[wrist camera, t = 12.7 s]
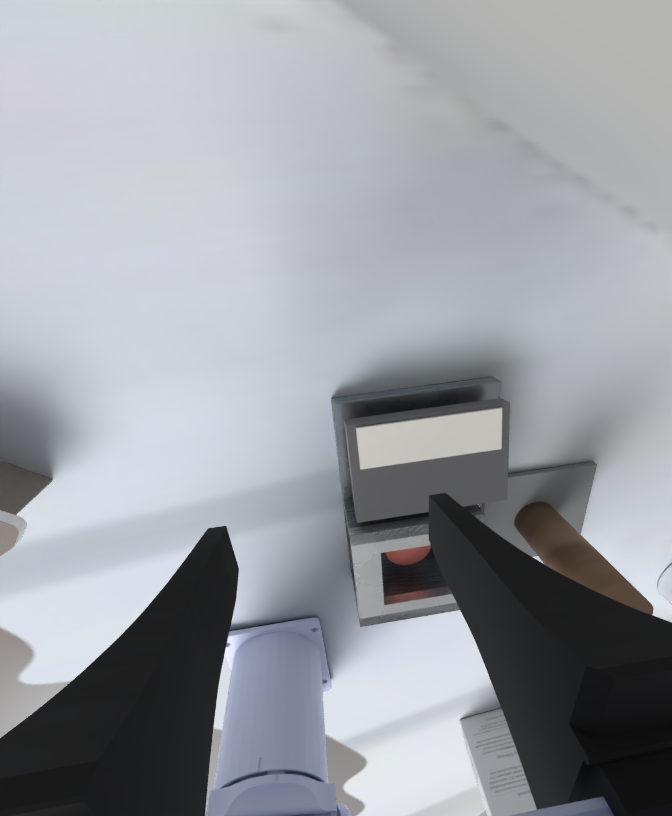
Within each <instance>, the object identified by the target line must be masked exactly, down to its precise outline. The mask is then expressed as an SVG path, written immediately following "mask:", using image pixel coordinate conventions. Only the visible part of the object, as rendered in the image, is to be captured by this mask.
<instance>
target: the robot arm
mask: <svg viewBox="0 0 672 816" xmlns="http://www.w3.org/2000/svg"><path fill="white" fill-rule="evenodd" d="M429 541H430V544H431V547H432V550H433V553H434V556H435V558H436V561H437V564H438V566H439V568H440V570H441V572H442V574H443V576H444V578H445V580H446V582H447V584H448V587H449V589H450V590H451V592H452V594H453V596H454V598H455V600H456V602H457V604H458V606H459V608H460V610H461V612H462V614H463V616H464V618H465V620H466V622H467V624H468V626H469V628H470V630H471V633H472V635H473V637H474V639H475V641H476V644H477V646H478V649H479V651H480V654H481V656H482V659H483V661H484V664H485V666H486V669H487V671H488V674H489V677H490V679H491V682H492V685H493V687H494V690H495V692H496V695H497V698H498V700H499V703H500V706H501V708H502V711H503V714H504V716H505V719H506V722H507V725H508V728H509V730H510V733H511V736H512V739H513V741H514V744H515V747H516V750H517V753H518V755H519V758H520V761H521V764H522V767H523V770H524V773H525V776H526V779H527V782H528V785H529V788H530V791H531V794H532V796H533V799H534V802H535V805H536V809H537V810H534V811H529V812H524V813H519V814H514V815H509V816H672V623H671V622H668V621H666V620H663V619H660V618H658V617H655V616H653V615H650V614H647V613H645V612H642V611H639V610H637V609H634V608H632V607H630V606H627V605H625V604H623V603H620V602H618V601H616V600H614V599H611V598H609V597H607V596H604V595H602V594H600V593H598V592H596V591H594V590H592V589H590V588H587V587H585V586H584V585H582V584H580V583H578V582H576V581H574V580H572V579H570V578H568V577H566V576H564V575H562V574H560V573H558V572H557V571H555V570H553V569H551V568H549V567H548V566H546V565H544V564H543V563H541V562H539V561H538V560H536V559H534V558H533V557H531V556H529V555H528V554H526V553H525V552H523V551H521V550H520V549H518V548H517V547H516V546H514V545H513V544H511V543H510V542H508V541H507V540H505V539H504V538H502V537H501V536H500V535H498V534H497V533H496V532H494V531H493V530H492V529H490V528H489V527H488V526H486V525H485V524H484V523H482V522H481V521H480V520H479V519H477V518H476V517H475V516H473V515H472V514H471V513H470V512H469V511H467V510H466V509H465V508H464V507H462V506H461V505H460V504H459V503H458V502H456V501H455V500H454V499H453V498H451V497H450V496H449V495H448V494H446V493H441V494H435V495H429ZM238 571H239V568H238V565H237V561H236V558H235V555H234V551H233V548H232V544H231V541H230V538H229V534H228V531H227V527H226V526H222V527H215V528H208V530H207V531H206V532H205V533H204V535H203V536H202V537H201V539H200V540H199V542H198V543H197V544H196V546H195V547H194V548H193V550H192V551H191V553H190V554H189V555H188V557H187V558H186V559H185V561H184V562H183V563H182V565H181V566H180V567H179V569H178V570H177V571H176V573H175V574H174V575H173V576H172V578H171V579H170V580H169V582H168V583H167V584H166V585H165V587H164V588H163V589H162V590H161V591H160V593H159V594H158V595H157V596H156V597H155V599H154V600H153V601H152V602H151V603H150V605H149V606H148V607H147V608H146V609H145V610H144V611H143V613H142V614H141V615H140V616H139V617H138V618H137V619H136V620H135V621H134V622H133V624H132V625H131V626H130V627H129V628H128V629H127V630H126V631H125V632H124V633H123V634H122V635H121V636H120V637H119V638H118V639H117V640H116V641H115V642H114V643H113V644H112V645H111V646H110V647H109V648H108V649H106V650H105V651H104V652H103V653H102V654H101V655H100V656H99V657H98V658H97V659H96V660H95V661H94V662H93V663H92V664H91V665H89V666H88V667H87V668H86V669H85V670H84V671H83V672H82V673H81V674H80V675H78V676H77V677H76V678H75V679H74V680H73V681H71V682H70V683H69V684H68V685H67V686H66V687H65V688H63V689H62V690H61V691H60V692H59V693H57V694H56V695H55V696H54V697H53V698H51V699H50V700H49V701H48V702H47V703H45V704H44V705H43V706H42V707H40V708H39V709H38V710H37V711H35V712H34V713H33V714H32V715H30V716H29V717H28V718H26V719H25V720H24V721H23V722H21V723H20V724H18V725H17V726H16V727H15V728H13V729H12V730H11V731H9V732H8V733H7V734H5V735H4V736H3V737H1V738H0V816H205V807H206V796H207V785H208V784H207V783H208V774H209V763H210V762H209V761H210V753H211V743H212V734H213V725H214V716H215V708H216V700H217V692H218V685H219V679H220V673H221V668H222V663H223V659H224V656H225V659H226V661H227V664H228V667H229V669H230V672H231V677H230V684H229V690H228V697H227V703H226V709H225V716H224V722H223V729H222V736H221V742H220V748H219V755H218V761H217V768H216V774H215V780H214V787H213V790H211V791H210V793H209V800H208V806H207V812H206V816H352V815H351V814H350V812H349V810H348V808H347V806H346V805H345V804H336V791H335V784H334V783H328V774H327V758H326V741H325V724H324V707H323V692H324V691H328V690H330V689H331V680H330V675H329V669H328V664H327V658H326V653H325V647H324V642H323V636H322V631H321V625H320V620H319V619H318V618H315V617H313V618H307V619H301V620H295V621H289V622H283V623H277V624H271V625H265V626H259V627H253V628H247V629H241V630H235V631H229V630H230V626H231V621H232V616H233V611H234V606H235V601H236V594H237V583H238Z"/></svg>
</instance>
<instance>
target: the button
mask: <svg viewBox="0 0 672 816" xmlns="http://www.w3.org/2000/svg"><path fill="white" fill-rule="evenodd" d="M430 548H431V545H428V546H422V547H416V548H410V549H403V550H397V551H391V552H385V553H386V556H387V558H388V559H389V560H390V561H391V562H393V563H395V564H398V565H410V564H414V563H417V562H419V561H420V560H422V559H423V558H424V557H425V556H426V555H427V554H428V553H429V551H430Z"/></svg>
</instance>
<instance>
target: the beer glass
mask: <svg viewBox="0 0 672 816" xmlns="http://www.w3.org/2000/svg"><path fill="white" fill-rule="evenodd" d="M658 592H659V594H660V595H661V596H662V597H663V598H664V599H665V600H666V601H668V602H669V603H670V604H672V564H671V565H670V566H669V567H668V568H667V569H666V570H665V571H664V572H663V574H662V575H661V577H660V579H659V581H658Z"/></svg>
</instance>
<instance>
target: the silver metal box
mask: <svg viewBox="0 0 672 816" xmlns="http://www.w3.org/2000/svg"><path fill="white" fill-rule="evenodd" d="M500 387H501V382H500V381H499V380H497V379H495V378H494V377H486V378H479V379H471V380H464V381H456V382H449V383H441V384H434V385H426V386H419V387H412V388H404V389H397V390H389V391H382V392H374V393H367V394H359V395H352V396H345V397H337V398H331V403H332V411H333V420H334V429H335V437H336V446H337V454H338V463H339V471H340V480H341V488H342V497H343V506H344V514H345V523H346V531H347V540H348V548H349V557H350V565H351V574H352V581H353V587H354V592H355V598H356V604H357V610H358V616H359V621H360V627H362V626H368V625H374V624H380V623H386V622H392V621H398V620H404V619H409V618H415V617H421V616H427V615H433V614H439V613H445V612H451V611H457V610H460V608H459V606H458V604H457V602H456V600H455V598H454V596H453V594H452V592H451V590H450V589H449V587H448V584H447V582H446V580H445V578H444V576H443V574H442V572H441V570H440V568H439V566H438V564H437V561H436V558H435V556H434V553H433V550H432V547H431V548H430V551H429V553H428V554H427V555H426V556H425V557H424V558H423V559H422V560H420V561H419V562H417V563H414V564H410V565H398V564H395V563H393V562H391V561H390V560H389V559H388V558H387V556H386V553H385V552H391V551H397V550H403V549H410V548H416V547H422V546H428V545H431V544H430V541H429V512H425V513H418V514H412V515H405V516H399V517H392V518H386V519H379V520H373V521H366V522H360V523H357V520H356V516H355V511H354V502H353V493H352V484H351V476H350V467H349V458H348V450H347V441H346V432H345V423H344V420H345V419H352V418H360V417H367V416H374V415H381V414H389V413H396V412H403V411H410V410H418V409H425V408H432V407H440V406H447V405H454V404H461V403H469V402H476V401H483V400H490V399H498V398H500ZM464 508H465V509H466V510H467V511H469V512H470V513H471V514H472V515H473V516H475V517H476V518H477V519H479V520H480V521H481V522H482V523H484V516H485V515H484V513H483V512H482V511H481V509H480V508H479V507H478V505H470V506H464Z"/></svg>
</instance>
